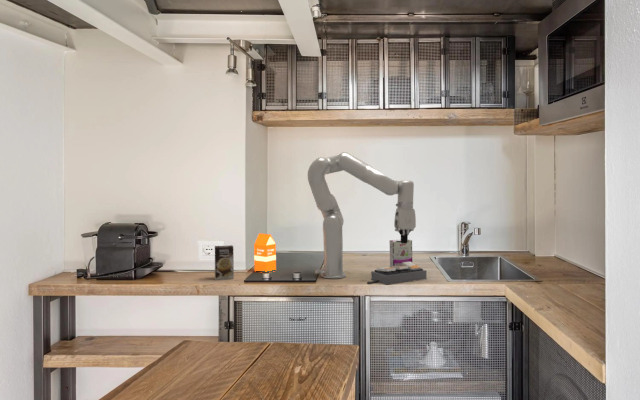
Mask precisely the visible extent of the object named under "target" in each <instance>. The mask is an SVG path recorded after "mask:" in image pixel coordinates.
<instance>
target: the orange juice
mask: <svg viewBox="0 0 640 400" xmlns="http://www.w3.org/2000/svg"><path fill="white" fill-rule="evenodd" d="M276 247H277V244H276V242H275V240H274V238H273V237H272V234H269V233H268V234H267V233H258V234H257V237H256V239H255V242H254V244H253V248H254V250H253V251H254V252H253V253H254V254H253V259H254V260H253V262H254V263H253V264H254V272H256V271H265V272H267V271H272V270H276V271H277V254H276V253H277V251H276V249H277V248H276Z"/></svg>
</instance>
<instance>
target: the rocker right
mask: <svg viewBox="0 0 640 400" xmlns="http://www.w3.org/2000/svg"><path fill="white" fill-rule="evenodd" d="M402 265H403V266H408V269H410V270H417V269H421V267H420V266H419V265H417V264H415V263H414V262H413V261H412V262H402Z"/></svg>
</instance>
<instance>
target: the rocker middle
mask: <svg viewBox="0 0 640 400" xmlns="http://www.w3.org/2000/svg"><path fill="white" fill-rule="evenodd" d="M393 268H396V269H407V268H408V266H393Z"/></svg>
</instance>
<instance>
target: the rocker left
mask: <svg viewBox="0 0 640 400" xmlns="http://www.w3.org/2000/svg"><path fill="white" fill-rule="evenodd" d="M376 270H377V271H386V272H388V271H395V270H396V268H393V267H390V266H383V267H377V268H376Z"/></svg>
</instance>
